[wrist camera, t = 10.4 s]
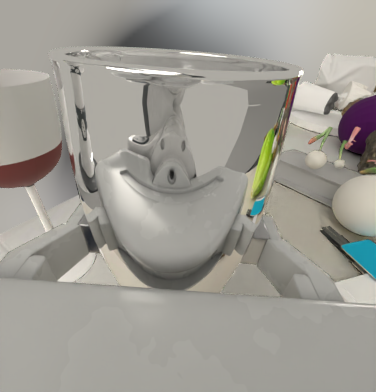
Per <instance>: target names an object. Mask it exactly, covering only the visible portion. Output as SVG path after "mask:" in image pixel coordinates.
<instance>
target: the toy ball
mask: <svg viewBox="0 0 376 392" xmlns="http://www.w3.org/2000/svg"><path fill="white" fill-rule="evenodd" d="M355 127H359V128H361V129H360V131H359V132H358V133H357V135H356V136H355V137H354V139H353V140H355V141H356V142H354V141H353V140H352V141H351V143H352V144H353V145H351V146H350V147H349V148H348V150H350V151H352V152H355V153H357V154H361V155H363V153H364V151H365V147H366V142H365V141H366V139H367V137H368V136H369V135H370V134H371V133H372V132H374V131H376V95H374V96H371V97H367V98H364V99H362V100H360V101H358V102H356V103H355V104H353V105H352V106H351V107H350V108H349V109H348V110H347V111H346V112H345V113H344V115H343V116H342V118H341V120H340V122H339V126H338V136H339V139H340V141H341V143H343V141H344V140H345V141H349V139H350V137H351V134H352V132H353V130H354V128H355ZM344 147H345V146H344Z"/></svg>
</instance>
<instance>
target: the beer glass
mask: <svg viewBox="0 0 376 392" xmlns="http://www.w3.org/2000/svg"><path fill="white" fill-rule="evenodd" d="M48 56H49V59H50V60H51V64H52V67H53V72H54V76H55V80H56V86H57V91H58V96H59V101H60V107H61V112H62V118H63V124H64V129H65V135H66V140H67V145H68V150H69V155H70V160H71V165H72V170H73V174H74V178H75V182H76V186H77V190H78V194H79V198H80V202H81V205H82V208H83V211H84V214H85V217H86V220H87V222H88V225H89V228H90V231H91V234H92V237H93V239H94V241H95V243H96V245H97V247H98V249H99V251H100V253H101V255H102V257H103V259H104V261H105V263H106V264H107V266H108V268H109V269H110V271H111V273H112V274H113V276H114V278H115V279H116V281H117V282H118V284H119V286H128V287H142V288H156V289H170V290H184V291H198V292H212V293H220V292H221V291H222V289H223V288H224V286H225V285H226V283H227V282H228V280H229V279H230V277H231V276H232V274H233V273H234V271H235V270H236V268H237V267H238V265H239V264H240V262H241V260H242V258H243V257H244V255H245V253H246V251H247V249H248V248H249V246H250V244H251V242H252V240H253V238H254V236H255V233H256V231H257V228H258V226H259V223H260V221H261V219H262V216H263V214H264V211H265V208H266V205H267V202H268V199H269V196H270V192H271V189H272V186H273V183H274V180H275V176H276V172H277V168H278V165H279V161H280V157H281V153H282V149H283V145H284V141H285V137H286V133H287V129H288V125H289V120H290V116H291V112H292V108H293V104H294V100H295V97H296V93H297V89H298V86H299V83H300V80H301V77H302V75H303V73H304V71H303V69H302V68H301V67H299V66H296V65H292V64H289V63H284V62H280V61H274V60H268V59H261V58H254V57H246V56H237V55H227V54H219V53H208V52H197V51H183V50H169V49H154V48H152V49H151V48H134V47H133V48H132V47H93V46H92V47H65V48H56V49H53V50H51V51H49V54H48Z"/></svg>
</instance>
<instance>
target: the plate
mask: <svg viewBox="0 0 376 392" xmlns="http://www.w3.org/2000/svg"><path fill="white" fill-rule="evenodd" d="M341 113H342V112H341V111H336V110H330V113H329V114H328V115H324V114H319V113H314V112H309V111H304V110H299V109H294V108H292V112H291V116H290V120H289V121H290V122H291V123H293V124H295V125H297V126H299V127H302V128H304V129H307V130H310V131H314V132H318V133H323V132H324V131H325V130H326V129H328V127H332V128H333V129H332V130H331V132H330V134H329V135H332V136H338V126H339V122H340V120H341V118H342V115H341ZM338 137H339V136H338Z"/></svg>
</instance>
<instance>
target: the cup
mask: <svg viewBox="0 0 376 392" xmlns="http://www.w3.org/2000/svg"><path fill="white" fill-rule="evenodd" d="M338 99H339V97H338V93H337V92H334V91H331V90H328V89H326V88H323V87H320V86H317V85H315V84H312V83H309V82H303V83H302V84H301V85H300V86H299V87H298V89H297V93H296V97H295V100H294V104H293V108H294V109H299V110H304V111H309V112H314V113H319V114H324V115H328V114H329V113H330V110H332V109H333V108H334V107H335V105H334V103H335V102H336V101H337V100H338Z"/></svg>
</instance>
